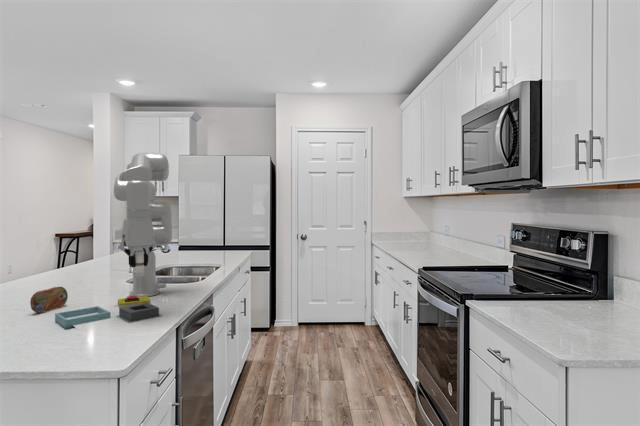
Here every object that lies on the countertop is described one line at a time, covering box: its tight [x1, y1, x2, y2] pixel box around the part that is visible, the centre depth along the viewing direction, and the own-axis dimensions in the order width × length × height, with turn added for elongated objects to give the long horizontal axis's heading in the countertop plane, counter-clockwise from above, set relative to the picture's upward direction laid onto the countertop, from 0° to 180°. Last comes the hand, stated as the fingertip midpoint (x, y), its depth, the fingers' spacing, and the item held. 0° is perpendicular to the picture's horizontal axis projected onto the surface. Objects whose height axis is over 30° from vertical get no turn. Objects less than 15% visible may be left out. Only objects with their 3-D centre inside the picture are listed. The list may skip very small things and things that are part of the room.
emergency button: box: [113, 295, 151, 308], centre depth 165 cm, size 9×4×15 cm
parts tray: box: [54, 305, 111, 330], centre depth 144 cm, size 14×12×3 cm
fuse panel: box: [115, 303, 163, 324], centre depth 147 cm, size 12×12×4 cm
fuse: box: [132, 251, 144, 278], centre depth 147 cm, size 4×4×9 cm
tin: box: [29, 286, 69, 314], centre depth 159 cm, size 15×3×8 cm, turn 168°
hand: (138, 265), depth 147 cm, fingers closed on fuse, 3 cm apart
